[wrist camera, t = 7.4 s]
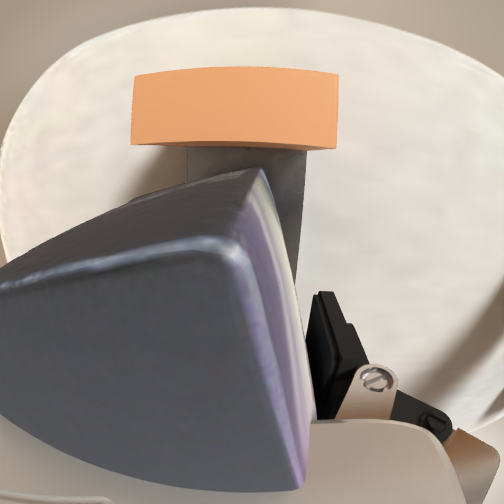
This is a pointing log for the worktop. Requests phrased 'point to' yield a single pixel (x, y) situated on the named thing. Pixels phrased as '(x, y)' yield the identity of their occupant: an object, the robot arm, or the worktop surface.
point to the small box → (165, 341)
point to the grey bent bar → (278, 176)
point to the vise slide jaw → (236, 108)
